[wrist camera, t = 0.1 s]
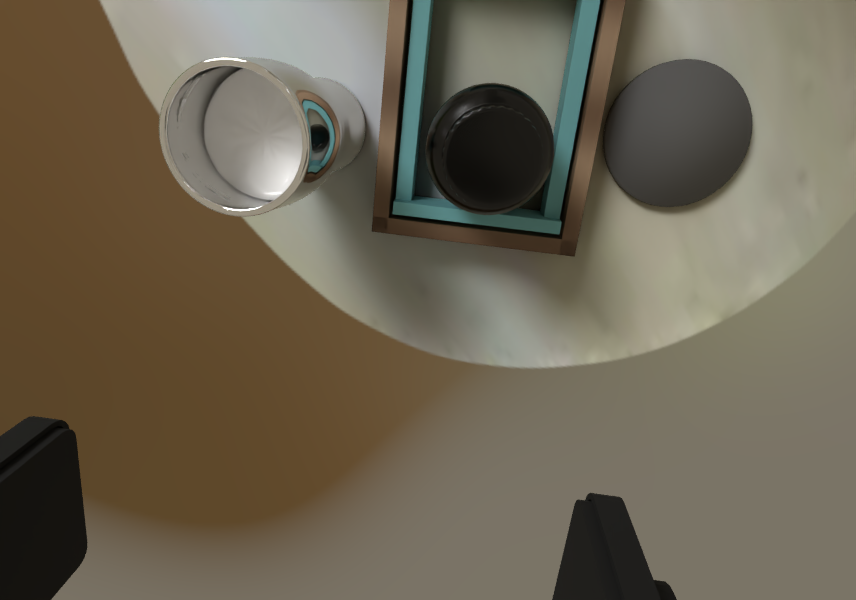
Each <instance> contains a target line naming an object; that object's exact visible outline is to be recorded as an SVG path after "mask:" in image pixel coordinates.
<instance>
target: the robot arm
mask: <svg viewBox="0 0 856 600" xmlns="http://www.w3.org/2000/svg"><path fill="white" fill-rule="evenodd" d="M86 550H87V535H86V526H85V516H84V507H83V497H82V488H81V479H80V469H79V460H78V451H77V441H76V435H75V433H74V431H73V430H70V429H69V426H68V424H67V423H66V422H65V421H63V420H56V419H49V418H42V417H35V416H33V417H28V418H26V419H24V420H23V421H21V422H20V423H18V424H17V425H16V426H14V427H13V428H11V429H10V430H8V431H7V432H6V433H4V434H3V435H1V436H0V600H51V599H52V598H53V597H54V595H55V594H56V593H57V592H58V591H59V589H60V588H61V587H62V586H63V585H64V584H65V582H66V581H67V580H68V579H69V578H70V577H71V575H72V574H73V573H74V572H75V571H76V570H77V568H78V567H79V566H80V564H81V563H82V561H83V559H84V557H85V554H86ZM552 600H677V599H676V597H675V595H674V593H673V591H672V589H671V587H670V586H669V585H668V584H667V583H666V582H664V581H657V580H653V577H652V575H651V573H650V570H649V567H648V565H647V562H646V559H645V556H644V554H643V551H642V549H641V546H640V543H639V541H638V538H637V535H636V533H635V530H634V527H633V525H632V523H631V520H630V517H629V514H628V512H627V509H626V506H625V504H624V501H623V500H622V498H620V497H616V496H608V495H601V494H594V493H589V494H588V495H587V497H586V500H585V501H584V500H577V501H576V503H575V506H574V510H573V514H572V518H571V522H570V527H569V531H568V536H567V540H566V544H565V548H564V553H563V557H562V561H561V565H560V569H559V574H558V578H557V582H556V586H555V591H554V595H553V599H552Z"/></svg>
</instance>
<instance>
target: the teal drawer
mask: <svg viewBox="0 0 856 600" xmlns="http://www.w3.org/2000/svg"><path fill="white" fill-rule="evenodd" d="M433 4H434V0H413V11H412V22H411V33H410V45H409V56H408V67H407V78H406V89H405V100H404V111H403V122H402V133H401V144H400V155H399V167H398V178H397V189H396V199H395V200H394V202H393V214H396V215H404V216H413V217H421V218H429V219H437V220H445V221H453V222H461V223H470V224H478V225H486V226H494V227H502V228H510V229H519V230H527V231H535V232H543V233H551V234H560V229H561V223H562V222H561V220H560V214H561V208H562V203H563V197H564V192H565V187H566V181H567V176H568V171H569V165H570V160H571V155H572V149H573V144H574V138H575V133H576V128H577V122H578V117H579V112H580V106H581V101H582V96H583V90H584V85H585V80H586V74H587V69H588V63H589V58H590V53H591V47H592V42H593V37H594V31H595V26H596V21H597V15H598V10H599V4H600V0H577V2H576V8H575V14H574V20H573V25H572V31H571V37H570V42H569V48H568V54H567V60H566V65H565V71H564V77H563V83H562V88H561V94H560V100H559V106H558V111H557V117H556V123H555V128H554V134H553V138H554V157H553V162H552V166H551V169H550V172H549V175H548V177H547V179H546V181H545V186H544V191H543V197H542V203H541V209H540V211H537V210H529V209H520V208H516V209H514V210H512V211H509V212H506V213H502V214H497V215H479V214H474V213H470V212H467V211H464V210H462V209H460V208H458V207H456V206H455V205H453V204H452V203H450V202H449V201H448V200H446V199H438V198H430V197H422V196H414V192H415V182H416V172H417V162H418V153H419V143H420V133H421V123H422V113H423V103H424V93H425V83H426V73H427V63H428V53H429V43H430V33H431V23H432V13H433Z"/></svg>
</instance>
